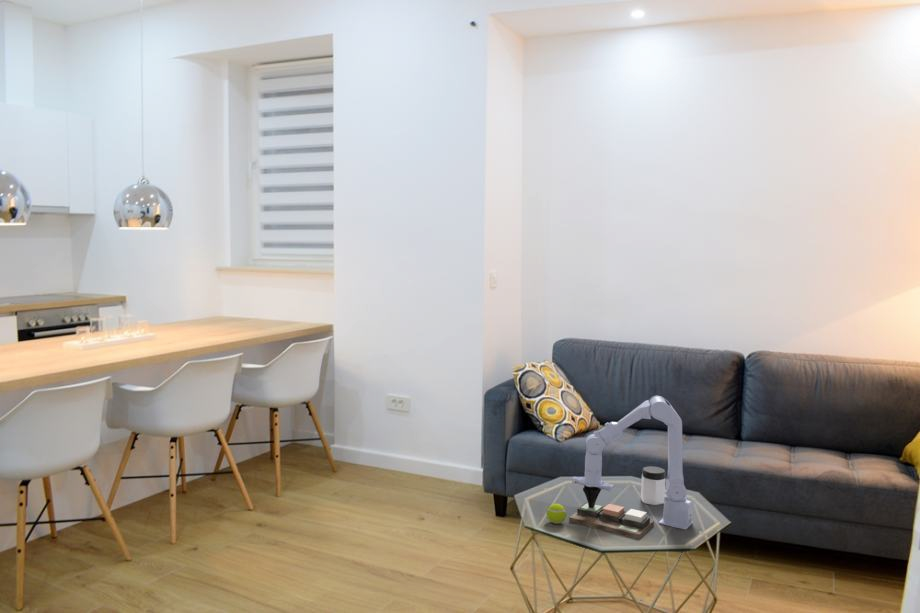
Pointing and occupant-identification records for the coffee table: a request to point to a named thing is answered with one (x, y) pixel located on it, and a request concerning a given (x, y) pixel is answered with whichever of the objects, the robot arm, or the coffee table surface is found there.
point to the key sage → (594, 509)
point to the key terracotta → (613, 510)
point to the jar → (653, 485)
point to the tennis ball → (556, 513)
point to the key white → (636, 515)
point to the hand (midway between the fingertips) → (591, 507)
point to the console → (611, 522)
